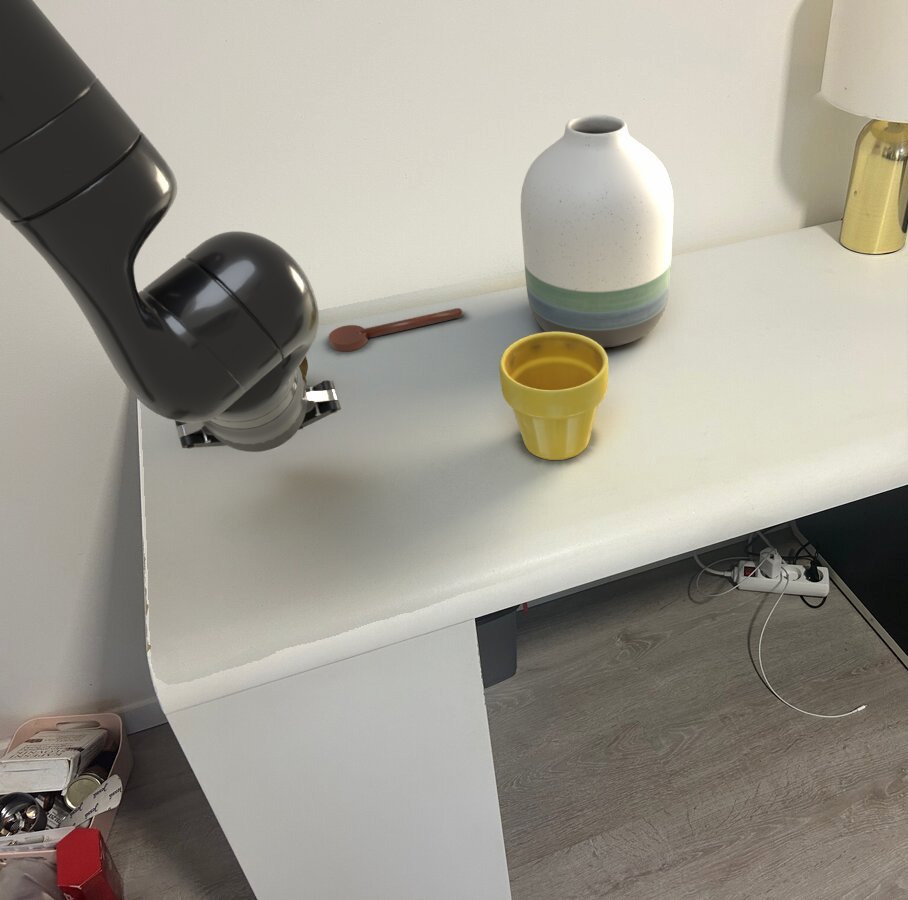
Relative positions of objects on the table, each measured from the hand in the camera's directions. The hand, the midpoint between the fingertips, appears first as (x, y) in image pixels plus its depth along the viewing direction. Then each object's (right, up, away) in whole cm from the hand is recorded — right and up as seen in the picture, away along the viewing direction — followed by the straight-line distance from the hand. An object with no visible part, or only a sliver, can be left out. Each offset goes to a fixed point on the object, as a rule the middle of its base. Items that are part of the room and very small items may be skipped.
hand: (268, 431), depth 76 cm
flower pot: (+26, -1, +9) cm, 27 cm away
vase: (+30, +14, +27) cm, 42 cm away
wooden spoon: (+5, +13, +26) cm, 29 cm away
